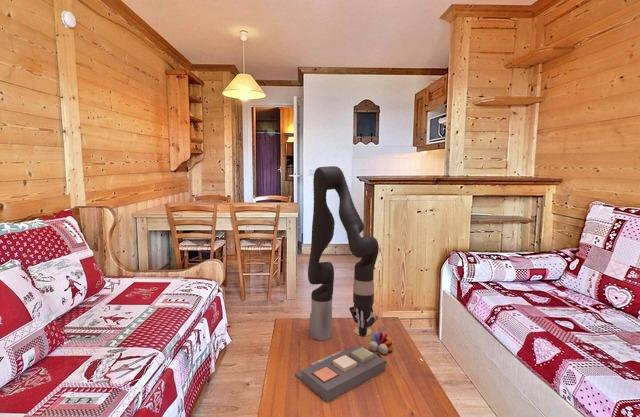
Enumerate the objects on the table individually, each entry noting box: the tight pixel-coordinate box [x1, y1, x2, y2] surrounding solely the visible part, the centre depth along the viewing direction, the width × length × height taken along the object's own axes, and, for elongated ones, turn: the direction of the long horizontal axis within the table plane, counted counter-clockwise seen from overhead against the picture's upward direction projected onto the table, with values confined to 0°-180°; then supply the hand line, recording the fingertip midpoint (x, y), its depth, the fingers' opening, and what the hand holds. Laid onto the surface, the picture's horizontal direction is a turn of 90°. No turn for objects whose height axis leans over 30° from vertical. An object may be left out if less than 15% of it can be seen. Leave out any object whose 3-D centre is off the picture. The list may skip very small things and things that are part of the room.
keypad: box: [294, 344, 387, 403], centre depth 127 cm, size 18×28×4 cm, turn 129°
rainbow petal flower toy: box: [368, 331, 394, 355], centre depth 143 cm, size 8×10×7 cm
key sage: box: [351, 346, 375, 364], centre depth 130 cm, size 6×6×2 cm
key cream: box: [333, 355, 357, 373], centre depth 125 cm, size 6×6×2 cm
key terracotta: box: [313, 367, 338, 383], centre depth 119 cm, size 6×6×2 cm
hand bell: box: [353, 324, 373, 337], centre depth 157 cm, size 8×8×16 cm
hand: (362, 335), depth 129 cm, fingers closed
